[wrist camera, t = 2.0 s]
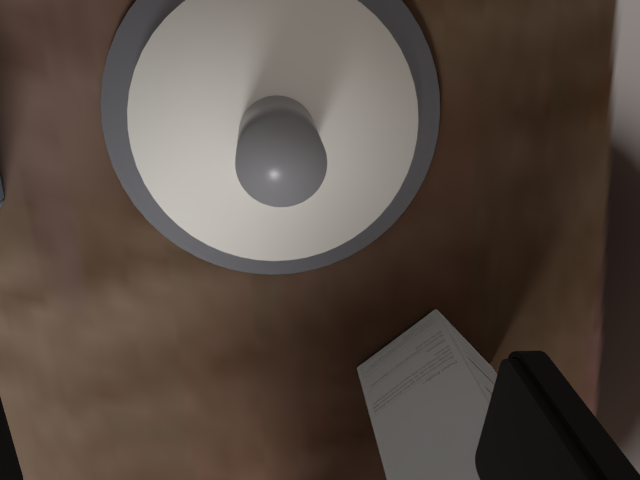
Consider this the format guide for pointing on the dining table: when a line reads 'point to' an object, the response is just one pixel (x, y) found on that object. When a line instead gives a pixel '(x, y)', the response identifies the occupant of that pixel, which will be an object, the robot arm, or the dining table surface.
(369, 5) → the mat
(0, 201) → the bowl
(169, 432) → the dining table surface
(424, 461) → the supplement box
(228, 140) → the lid
